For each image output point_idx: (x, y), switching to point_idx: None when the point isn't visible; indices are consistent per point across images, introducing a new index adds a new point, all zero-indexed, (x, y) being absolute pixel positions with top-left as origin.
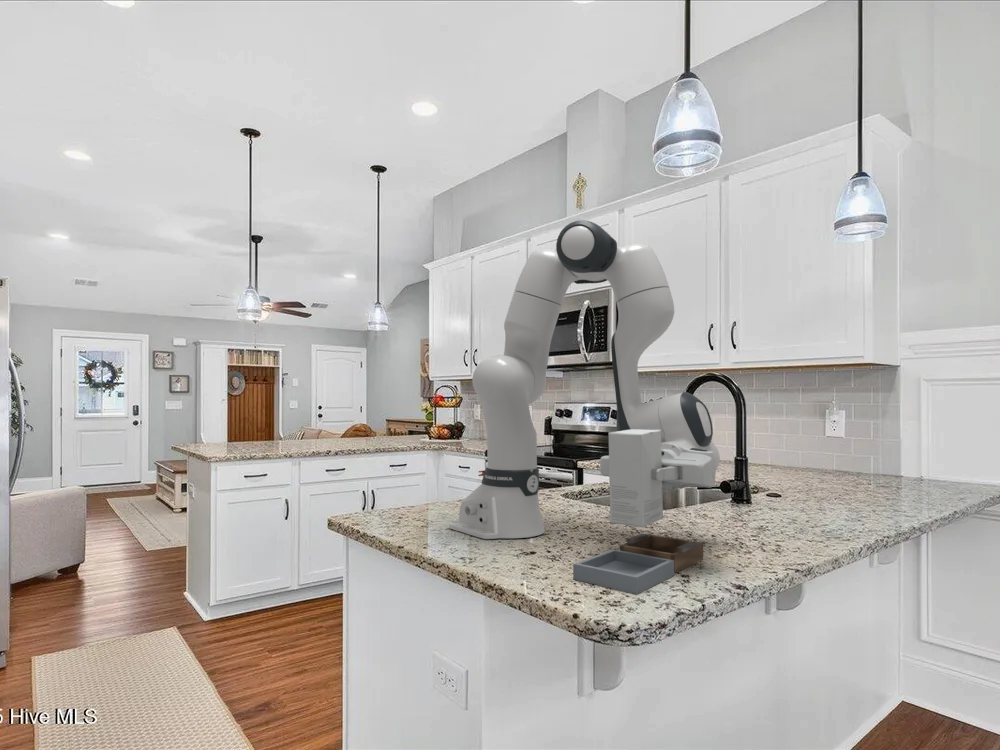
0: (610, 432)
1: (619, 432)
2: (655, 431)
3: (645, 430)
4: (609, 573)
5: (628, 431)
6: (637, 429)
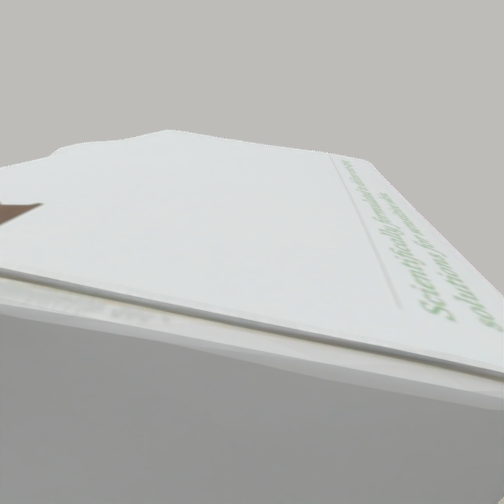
0: (356, 158)
1: (303, 150)
2: (12, 169)
3: (139, 170)
4: None
5: (271, 155)
6: (327, 289)
